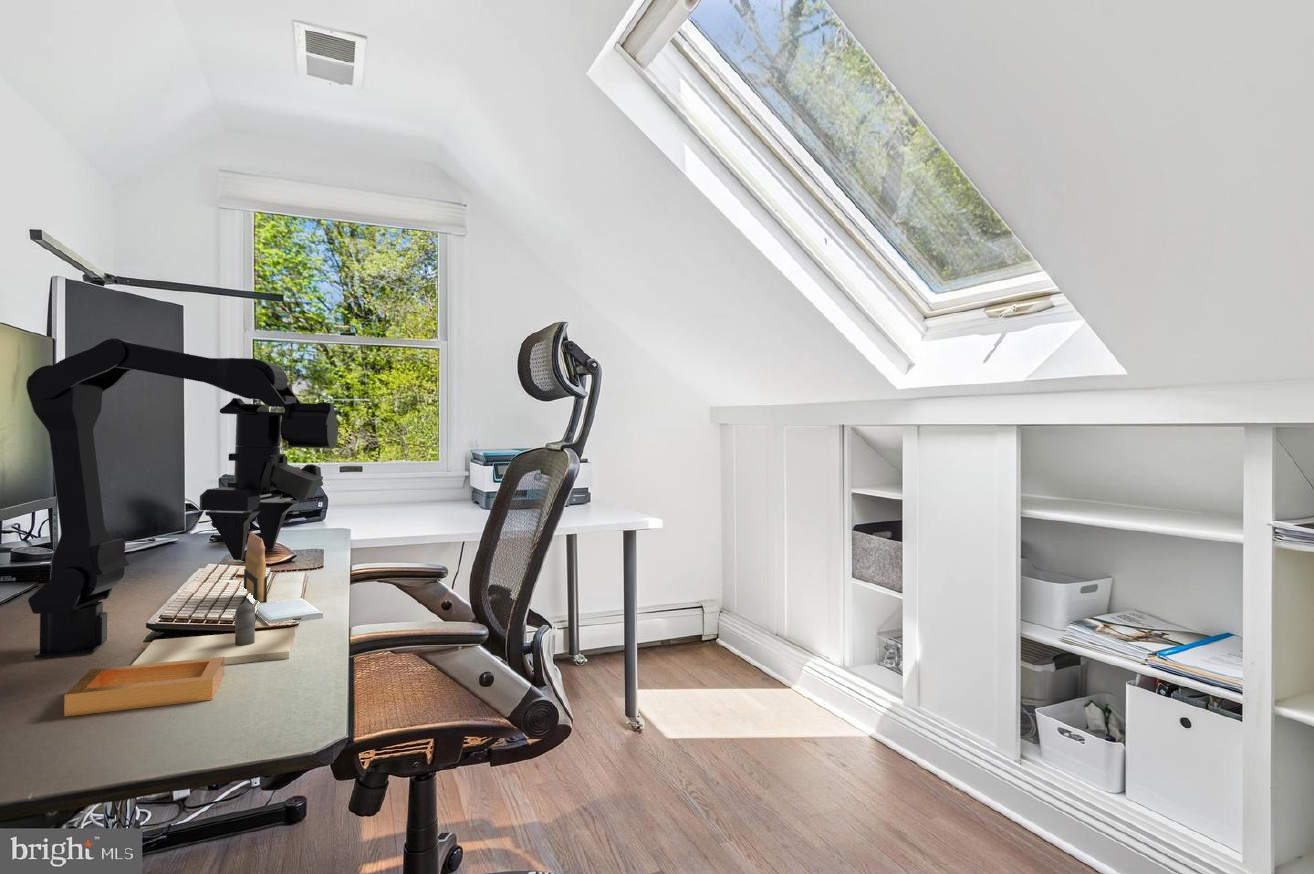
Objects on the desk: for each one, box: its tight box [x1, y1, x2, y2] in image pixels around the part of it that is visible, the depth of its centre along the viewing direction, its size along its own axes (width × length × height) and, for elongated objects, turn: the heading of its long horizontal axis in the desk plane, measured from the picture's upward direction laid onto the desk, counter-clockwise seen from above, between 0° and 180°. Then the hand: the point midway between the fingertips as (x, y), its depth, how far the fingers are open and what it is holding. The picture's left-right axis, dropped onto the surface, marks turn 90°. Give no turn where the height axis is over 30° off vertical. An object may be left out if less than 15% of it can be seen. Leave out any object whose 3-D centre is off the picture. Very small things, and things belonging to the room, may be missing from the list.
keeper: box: [131, 602, 296, 666], centre depth 100 cm, size 18×12×7 cm, turn 114°
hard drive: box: [257, 597, 324, 623], centre depth 121 cm, size 2×8×12 cm
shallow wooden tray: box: [63, 657, 225, 718], centre depth 84 cm, size 14×9×2 cm, turn 114°
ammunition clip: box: [243, 531, 268, 603], centre depth 129 cm, size 11×2×12 cm, turn 40°
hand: (254, 554), depth 103 cm, fingers open, 9 cm apart
